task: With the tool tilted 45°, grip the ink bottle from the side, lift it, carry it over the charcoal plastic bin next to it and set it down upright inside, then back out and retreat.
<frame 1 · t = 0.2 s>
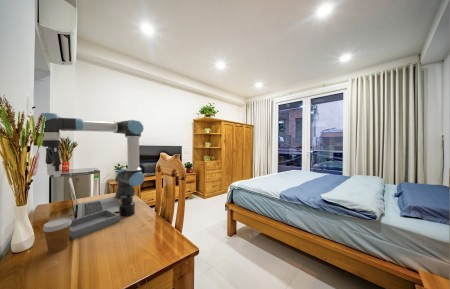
hand: (53, 175, 103), 28 cm above the table, tool pointing down, fingers open, 13 cm apart
charcoal bin: (92, 225, 99), on the table
disposable coffee cup: (58, 248, 79), on the table
ink bottle: (127, 214, 114), on the table
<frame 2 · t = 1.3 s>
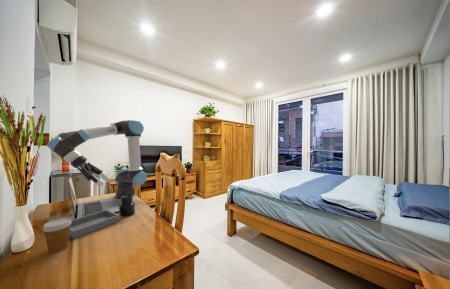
hand: (105, 182, 110), 22 cm above the table, tool tilted 45°, fingers open, 13 cm apart
nothing on the table moved.
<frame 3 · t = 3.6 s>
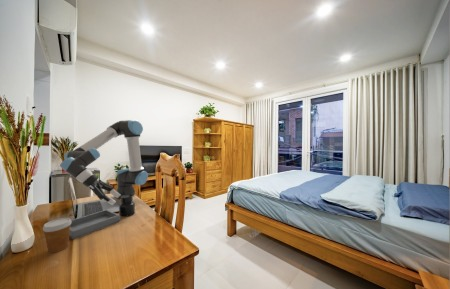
hand: (116, 200, 111), 10 cm above the table, tool tilted 45°, fingers open, 13 cm apart
nothing on the table moved.
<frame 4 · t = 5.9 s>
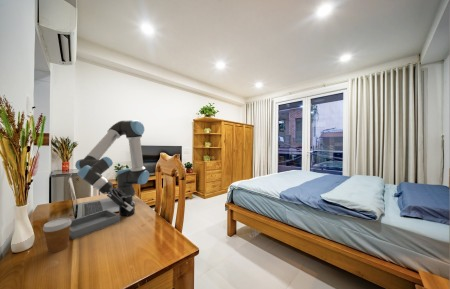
hand: (132, 206, 115), 4 cm above the table, tool tilted 45°, fingers closed on ink bottle, 9 cm apart
ink bottle: (127, 214, 114), on the table, touching gripper
everything else where it was.
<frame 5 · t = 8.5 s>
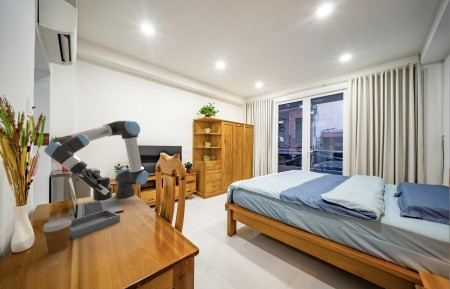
hand: (109, 191, 104), 18 cm above the table, tool tilted 45°, fingers closed on ink bottle, 8 cm apart
ink bottle: (102, 199, 102), point 14 cm above the table, touching gripper
everything else where it was.
when the fingers open (7 cm above the table, at t = 11.3 s): ink bottle drops 2 cm, resting on charcoal bin.
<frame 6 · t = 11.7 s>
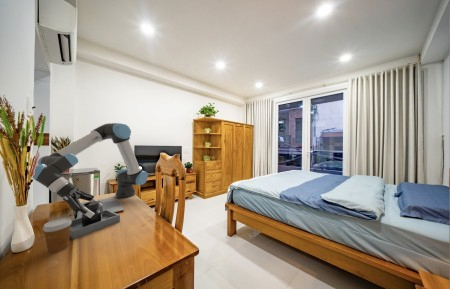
hand: (96, 211, 99), 8 cm above the table, tool tilted 45°, fingers open, 13 cm apart
ink bottle: (92, 224, 99), point 1 cm above the table, touching charcoal bin
everything else where it was.
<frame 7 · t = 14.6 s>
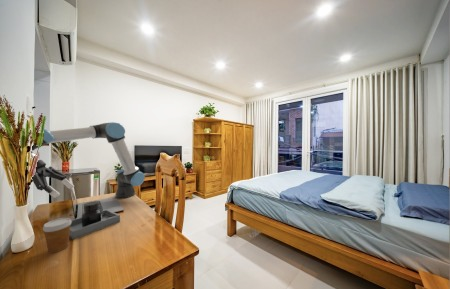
hand: (65, 191, 97), 20 cm above the table, tool tilted 40°, fingers open, 13 cm apart
nothing on the table moved.
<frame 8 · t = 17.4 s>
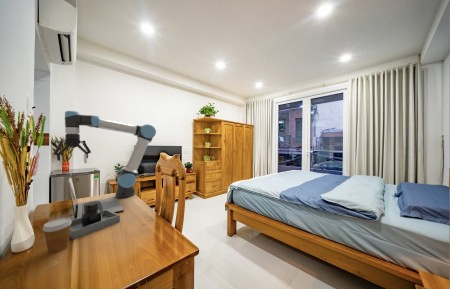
hand: (73, 164, 122), 32 cm above the table, tool pointing down, fingers open, 13 cm apart
nothing on the table moved.
at the end: ink bottle inside the target area on the charcoal bin (0.1 cm from its centre), point 0.8 cm above the charcoal bin's base; ink bottle tilted 0°; the gripper is holding nothing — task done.
